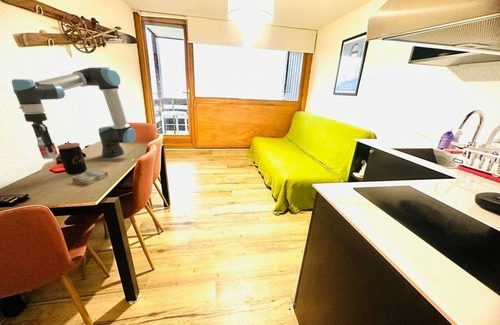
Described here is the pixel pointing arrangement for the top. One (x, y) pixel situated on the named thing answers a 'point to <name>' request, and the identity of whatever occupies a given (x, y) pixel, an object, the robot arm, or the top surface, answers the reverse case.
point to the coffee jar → (72, 158)
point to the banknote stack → (90, 177)
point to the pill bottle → (43, 150)
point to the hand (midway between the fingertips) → (50, 156)
